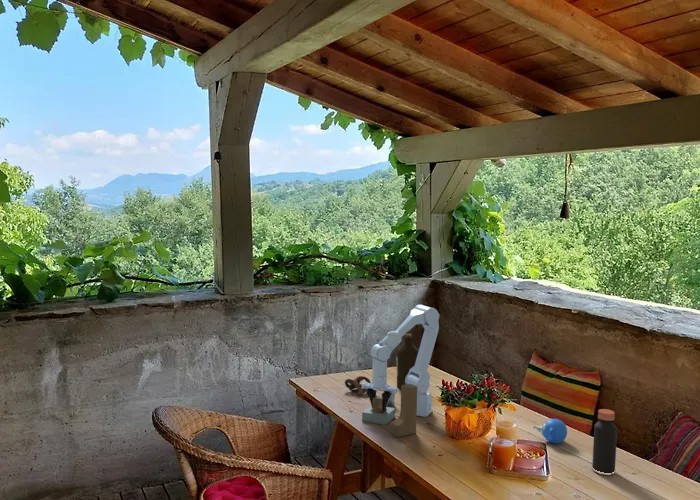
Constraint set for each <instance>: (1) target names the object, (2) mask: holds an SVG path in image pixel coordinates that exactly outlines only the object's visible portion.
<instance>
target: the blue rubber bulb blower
mask: <svg viewBox="0 0 700 500" xmlns="http://www.w3.org/2000/svg"><path fill="white" fill-rule="evenodd" d="M532 427H533V429H535V430H537V431H538V432H539V433H541V436H543V437H544V438H545V440H547V442H549V443H552V444H561V443H562V442H564V441H565V440H566V438H567V435H568V428H567V426H566V424H565V423H564V422H563V421H562V420H560V419H558V418H549V419H547V420H546V421H545V422H544V424H543V425H533V426H532Z"/></svg>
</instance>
